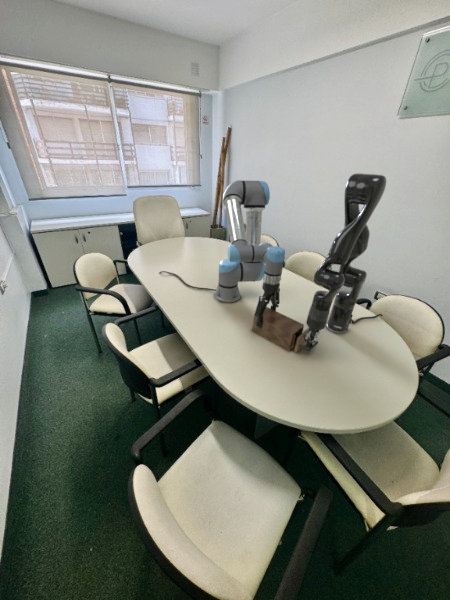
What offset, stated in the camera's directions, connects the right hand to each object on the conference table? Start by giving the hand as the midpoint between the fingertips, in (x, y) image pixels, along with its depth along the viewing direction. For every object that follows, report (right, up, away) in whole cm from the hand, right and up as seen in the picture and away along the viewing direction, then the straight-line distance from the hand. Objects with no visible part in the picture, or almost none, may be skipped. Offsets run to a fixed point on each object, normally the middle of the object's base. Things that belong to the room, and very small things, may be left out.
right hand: (308, 347), depth 107 cm
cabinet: (-12, +4, +11) cm, 17 cm away
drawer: (-8, +2, +7) cm, 11 cm away
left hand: (-17, +10, +13) cm, 23 cm away
